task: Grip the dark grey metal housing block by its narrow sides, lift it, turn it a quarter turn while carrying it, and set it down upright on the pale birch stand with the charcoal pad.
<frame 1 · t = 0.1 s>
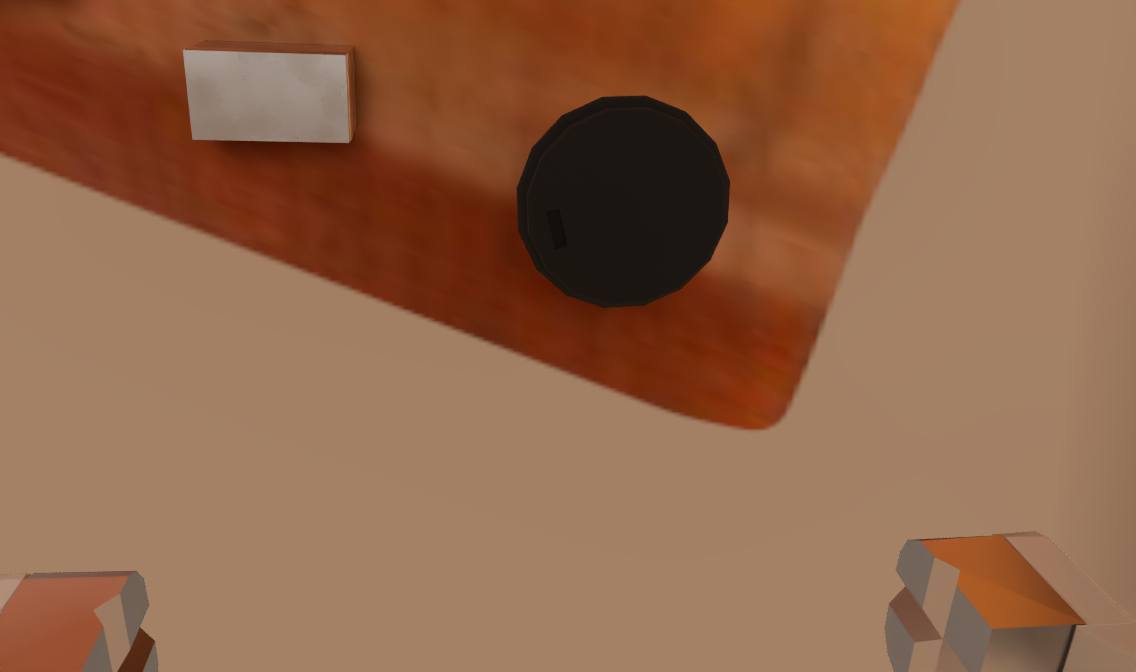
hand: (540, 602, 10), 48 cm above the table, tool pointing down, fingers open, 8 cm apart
coffee cup: (592, 159, 57), on the table
housing: (283, 84, 53), on the table
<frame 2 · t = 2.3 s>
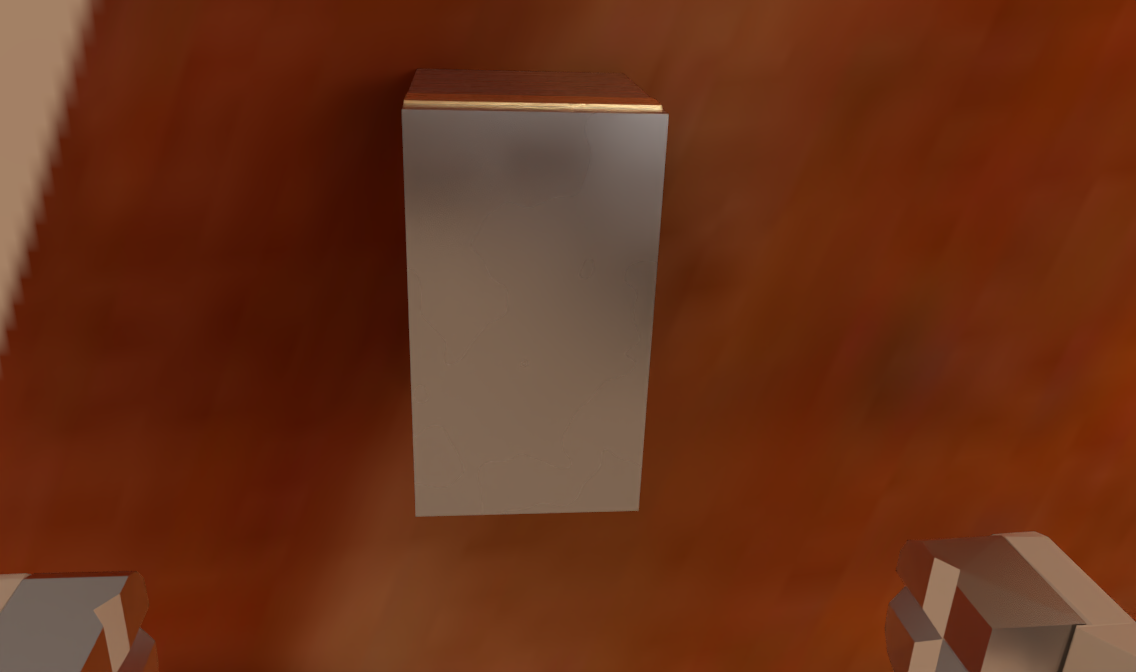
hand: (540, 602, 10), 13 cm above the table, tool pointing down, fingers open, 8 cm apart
housing: (518, 245, 22), on the table
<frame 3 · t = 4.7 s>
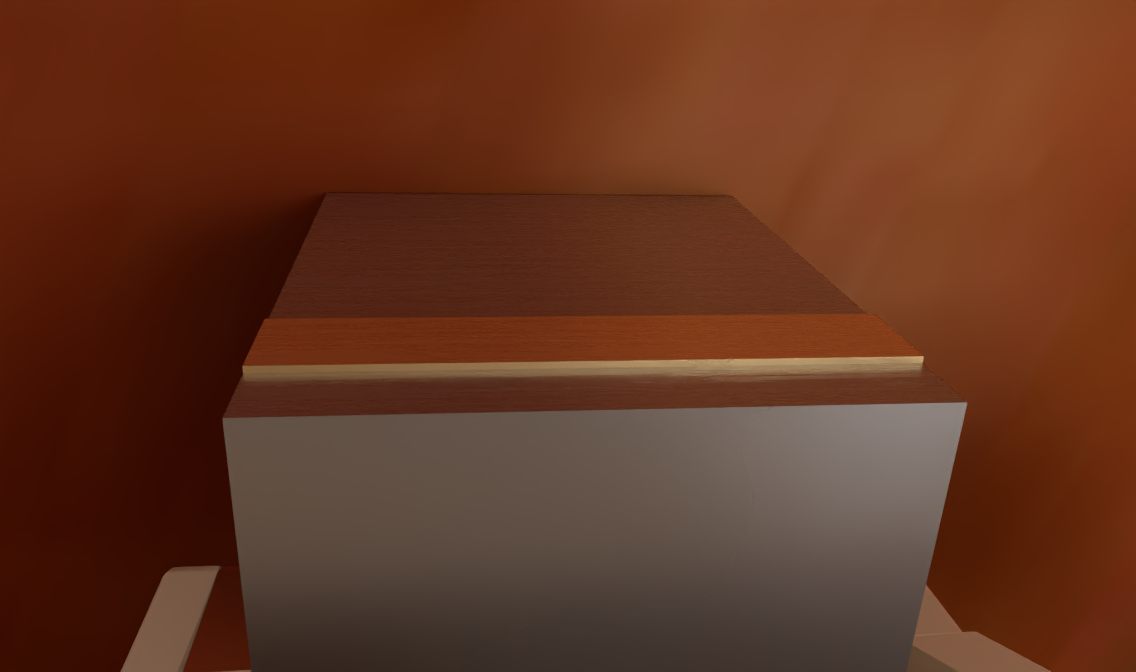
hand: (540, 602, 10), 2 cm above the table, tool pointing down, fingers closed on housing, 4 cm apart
housing: (526, 503, 12), on the table, touching gripper
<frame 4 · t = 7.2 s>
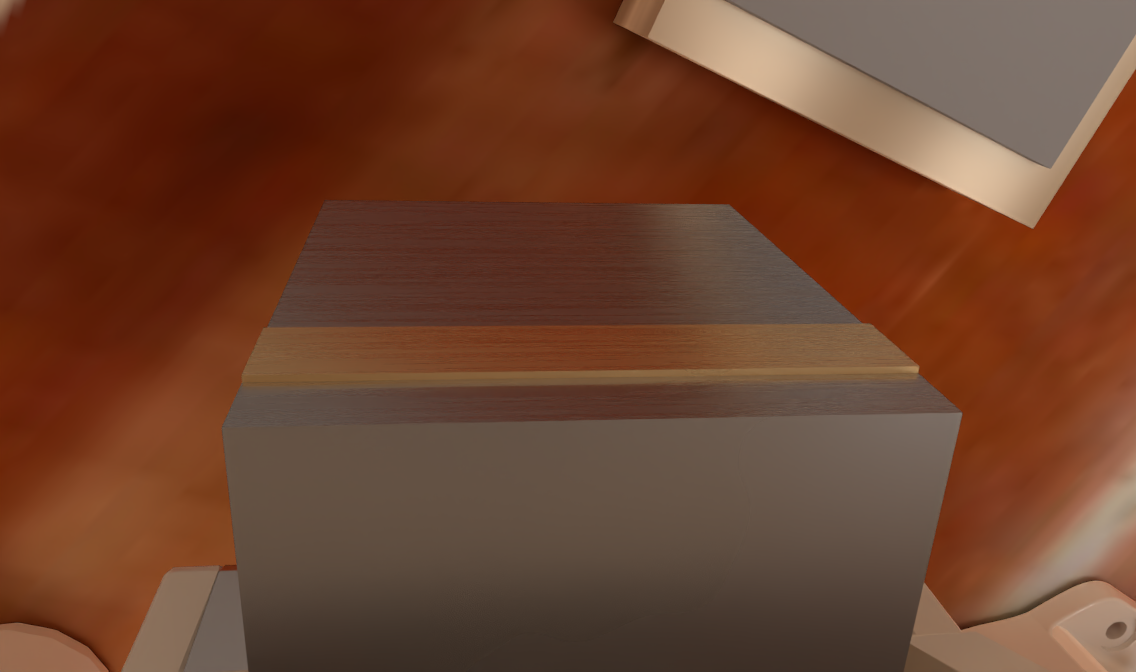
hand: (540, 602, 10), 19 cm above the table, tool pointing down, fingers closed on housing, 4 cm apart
housing: (523, 510, 12), point 17 cm above the table, touching gripper
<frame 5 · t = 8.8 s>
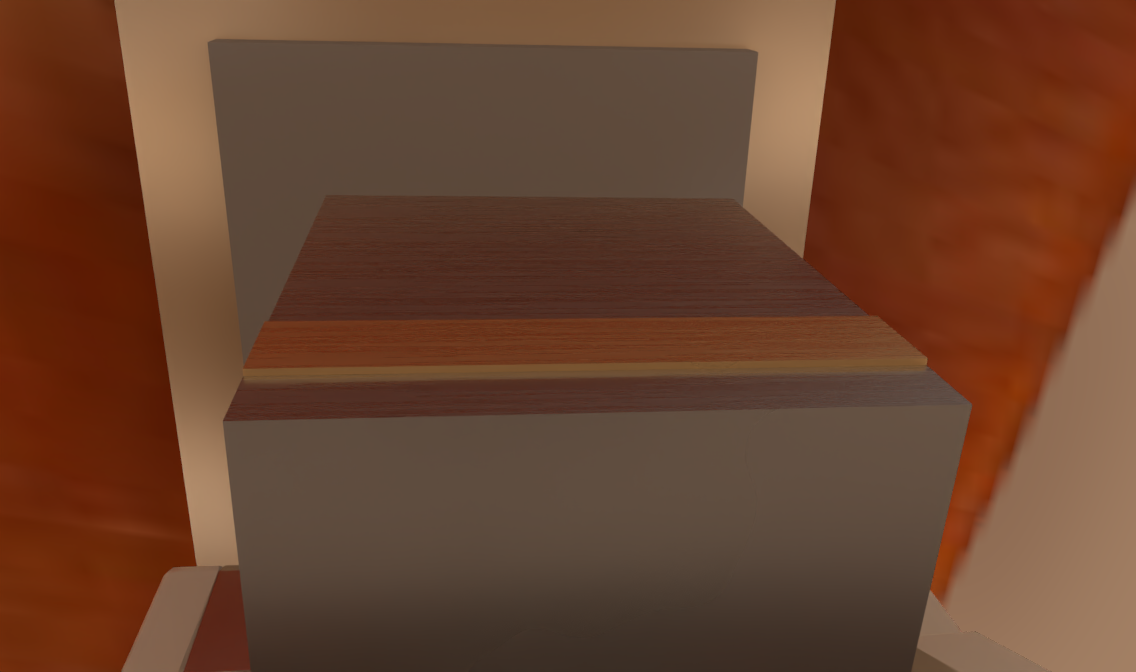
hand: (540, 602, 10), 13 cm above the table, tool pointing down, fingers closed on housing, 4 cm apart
housing: (526, 506, 12), point 11 cm above the table, touching gripper
stand: (483, 250, 22), on the table
when the fingers open (8 cm above the table, at t = 10.2 s): housing drops 1 cm, resting on stand.
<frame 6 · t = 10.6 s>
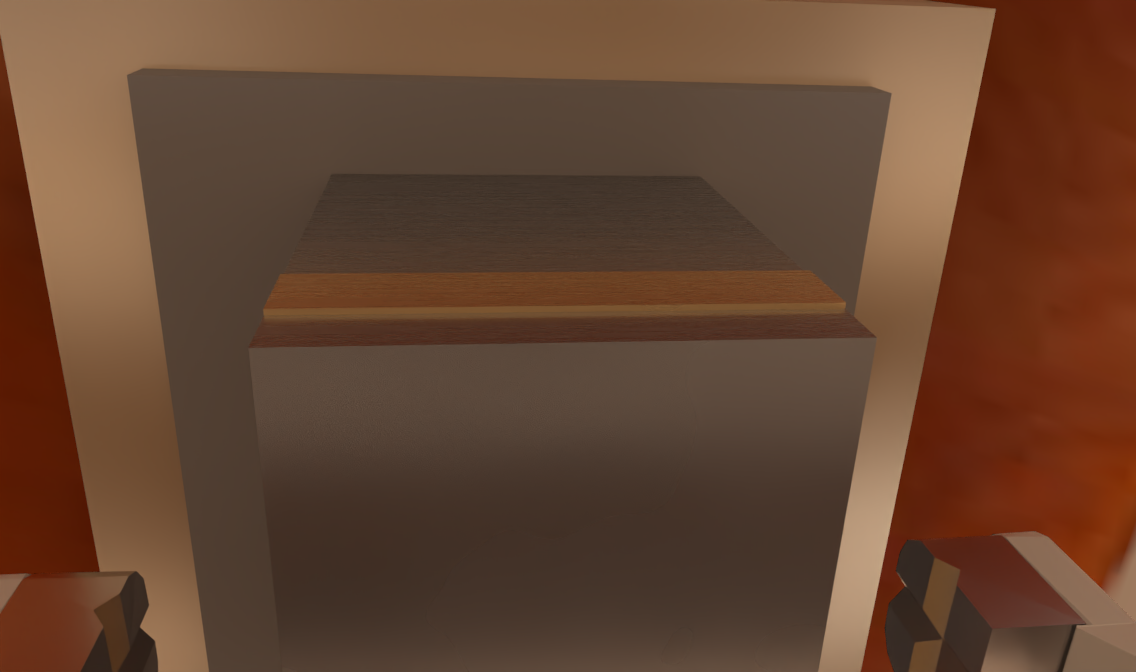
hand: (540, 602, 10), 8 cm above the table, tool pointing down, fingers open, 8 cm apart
housing: (516, 460, 13), point 5 cm above the table, touching stand
stand: (500, 321, 17), on the table
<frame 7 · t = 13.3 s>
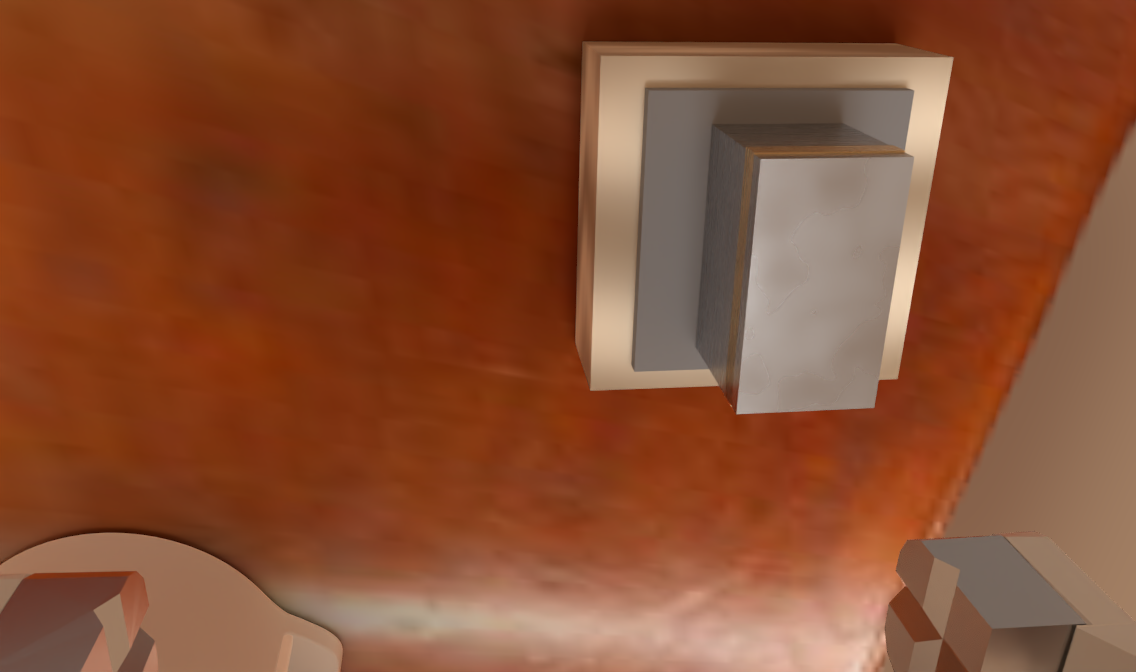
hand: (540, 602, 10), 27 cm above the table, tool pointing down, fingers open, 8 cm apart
housing: (766, 239, 33), point 5 cm above the table, touching stand
stand: (728, 200, 37), on the table
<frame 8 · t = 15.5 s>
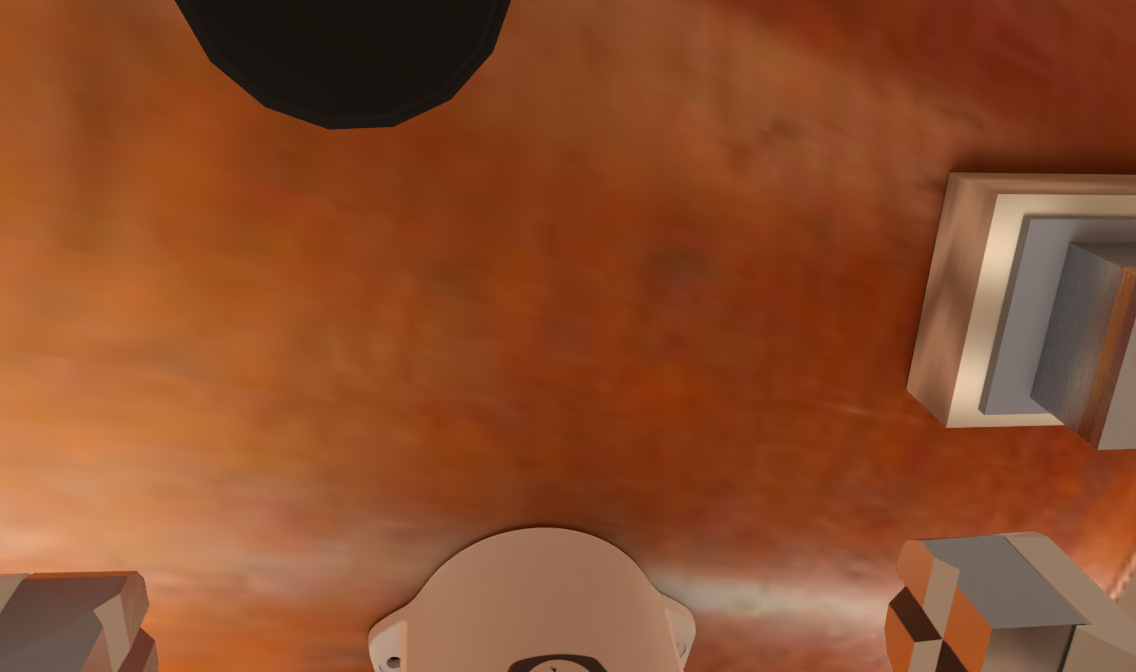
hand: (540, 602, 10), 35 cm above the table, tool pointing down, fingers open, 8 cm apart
housing: (1092, 322, 45), point 5 cm above the table, touching stand
stand: (1033, 285, 50), on the table
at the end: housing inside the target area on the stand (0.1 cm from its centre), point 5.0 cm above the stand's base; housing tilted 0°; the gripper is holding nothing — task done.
